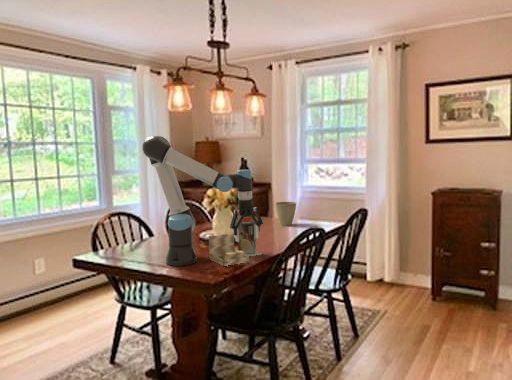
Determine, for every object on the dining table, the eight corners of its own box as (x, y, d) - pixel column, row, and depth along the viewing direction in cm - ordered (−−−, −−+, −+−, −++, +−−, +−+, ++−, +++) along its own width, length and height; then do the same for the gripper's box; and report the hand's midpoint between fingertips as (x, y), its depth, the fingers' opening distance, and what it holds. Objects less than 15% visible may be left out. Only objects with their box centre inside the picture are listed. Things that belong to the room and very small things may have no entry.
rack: (223, 267, 211) (222, 242, 209) (209, 259, 225) (208, 236, 224) (249, 262, 217) (248, 238, 216) (233, 255, 232) (233, 232, 231)
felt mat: (241, 257, 227) (241, 256, 227) (230, 252, 238) (230, 251, 238) (261, 254, 232) (261, 253, 232) (249, 249, 244) (249, 248, 244)
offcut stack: (225, 266, 212) (225, 255, 212) (222, 264, 215) (222, 253, 215) (245, 262, 218) (245, 251, 217) (242, 261, 221) (241, 250, 220)
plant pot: (300, 224, 317) (299, 202, 315) (290, 227, 304) (290, 204, 303) (281, 222, 325) (281, 201, 323) (271, 225, 312) (271, 203, 310)
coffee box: (256, 251, 238) (256, 221, 236) (254, 254, 231) (254, 224, 229) (240, 250, 239) (239, 221, 237) (237, 253, 233) (237, 224, 231)
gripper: (228, 202, 223) (230, 244, 226) (268, 197, 235) (269, 237, 237) (222, 200, 230) (224, 241, 232) (261, 196, 241) (262, 235, 244)
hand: (247, 239), depth 235 cm, fingers open, 11 cm apart
